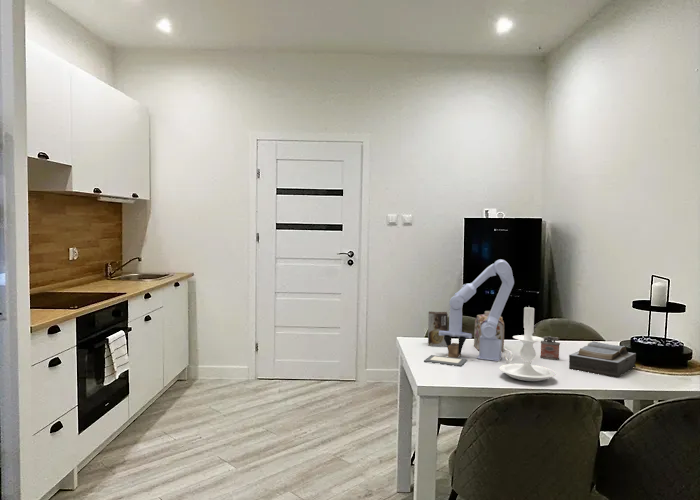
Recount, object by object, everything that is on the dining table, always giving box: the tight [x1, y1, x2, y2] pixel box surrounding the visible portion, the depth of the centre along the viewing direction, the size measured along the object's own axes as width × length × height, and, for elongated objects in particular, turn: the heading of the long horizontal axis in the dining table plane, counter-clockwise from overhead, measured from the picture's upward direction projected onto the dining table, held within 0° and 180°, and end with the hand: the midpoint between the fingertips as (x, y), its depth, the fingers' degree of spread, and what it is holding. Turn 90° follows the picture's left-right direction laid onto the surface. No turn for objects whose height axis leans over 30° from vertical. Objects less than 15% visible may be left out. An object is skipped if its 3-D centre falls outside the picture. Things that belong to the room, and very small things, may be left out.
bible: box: [568, 340, 637, 379], centre depth 226 cm, size 23×27×10 cm
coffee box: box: [427, 311, 449, 347], centre depth 265 cm, size 9×6×16 cm
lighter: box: [539, 335, 561, 361], centre depth 241 cm, size 8×3×10 cm, turn 62°
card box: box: [447, 342, 462, 358], centre depth 243 cm, size 4×8×5 cm, turn 156°
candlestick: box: [499, 306, 557, 382], centre depth 209 cm, size 21×25×28 cm
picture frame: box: [423, 354, 468, 368], centre depth 232 cm, size 16×12×1 cm
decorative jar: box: [473, 310, 505, 353], centre depth 259 cm, size 12×12×18 cm
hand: (454, 352), depth 243 cm, fingers closed on card box, 4 cm apart
